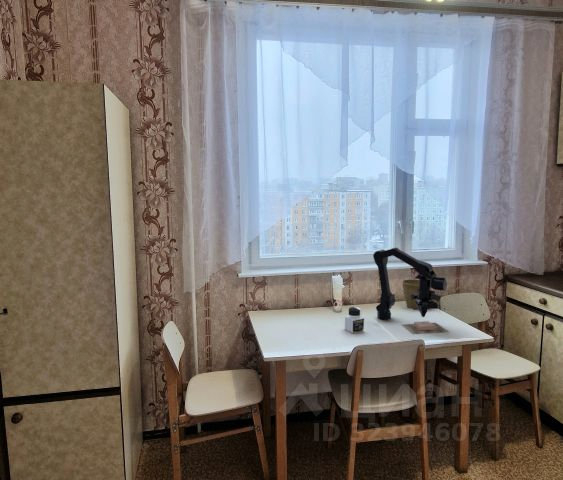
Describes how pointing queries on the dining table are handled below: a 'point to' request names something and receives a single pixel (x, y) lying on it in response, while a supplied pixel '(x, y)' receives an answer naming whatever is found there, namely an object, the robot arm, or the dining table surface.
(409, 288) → the plant pot
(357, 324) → the medicine bottle
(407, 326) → the board
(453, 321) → the dining table surface
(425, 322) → the tile
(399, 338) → the dining table surface
